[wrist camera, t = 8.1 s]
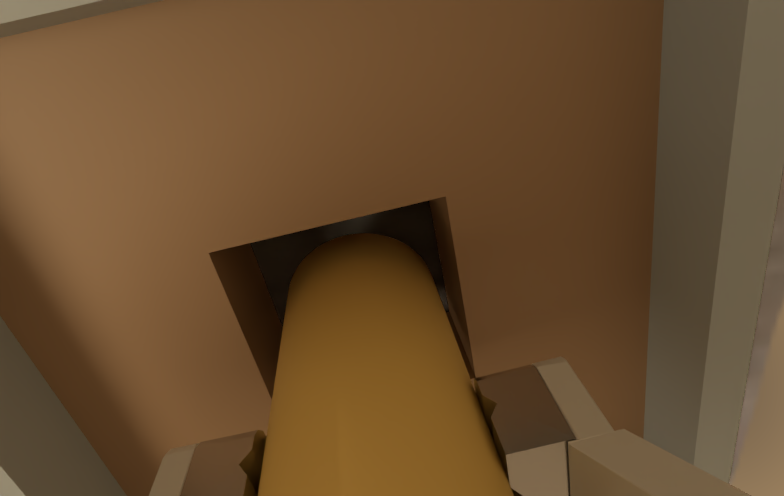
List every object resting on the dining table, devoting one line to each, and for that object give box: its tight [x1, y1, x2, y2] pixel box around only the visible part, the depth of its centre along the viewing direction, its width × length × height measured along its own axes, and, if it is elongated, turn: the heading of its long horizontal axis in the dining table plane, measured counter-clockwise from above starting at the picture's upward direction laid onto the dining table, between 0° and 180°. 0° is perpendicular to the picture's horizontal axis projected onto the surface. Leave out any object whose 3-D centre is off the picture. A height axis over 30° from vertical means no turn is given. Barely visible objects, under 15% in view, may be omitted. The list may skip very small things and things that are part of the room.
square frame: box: [0, 0, 784, 496], centre depth 12 cm, size 16×16×5 cm
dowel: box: [258, 233, 514, 496], centre depth 7 cm, size 4×4×10 cm
